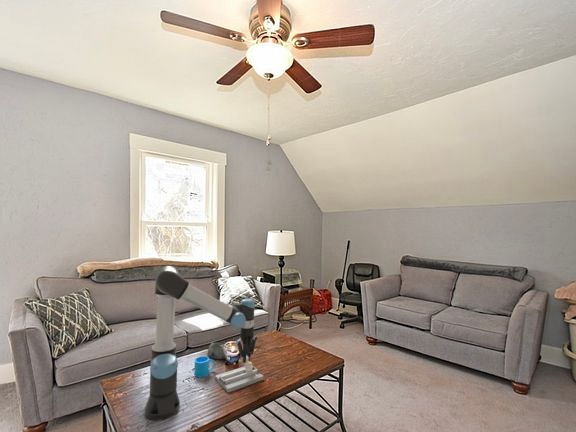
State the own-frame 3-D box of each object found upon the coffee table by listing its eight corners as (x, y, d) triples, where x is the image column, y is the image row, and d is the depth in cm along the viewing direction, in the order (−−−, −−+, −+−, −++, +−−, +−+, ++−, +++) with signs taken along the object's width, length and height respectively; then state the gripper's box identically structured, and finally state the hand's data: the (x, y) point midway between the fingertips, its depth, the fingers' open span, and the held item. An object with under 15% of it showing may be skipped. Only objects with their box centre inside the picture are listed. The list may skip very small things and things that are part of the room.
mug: (195, 378, 163) (196, 363, 163) (193, 371, 170) (193, 357, 171) (216, 373, 169) (217, 359, 169) (213, 367, 176) (213, 354, 176)
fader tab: (248, 374, 165) (248, 364, 165) (245, 371, 168) (246, 362, 168) (251, 372, 167) (252, 363, 167) (249, 370, 169) (249, 361, 169)
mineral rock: (228, 360, 186) (229, 344, 186) (212, 364, 180) (212, 348, 180) (221, 352, 196) (221, 337, 197) (205, 356, 190) (206, 341, 191)
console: (227, 392, 150) (228, 385, 150) (215, 379, 163) (215, 372, 163) (263, 379, 164) (263, 373, 164) (249, 368, 176) (249, 362, 177)
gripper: (240, 330, 160) (239, 373, 159) (260, 326, 168) (259, 367, 167) (234, 326, 166) (232, 368, 165) (253, 322, 174) (252, 362, 173)
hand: (246, 367), depth 166 cm, fingers closed
